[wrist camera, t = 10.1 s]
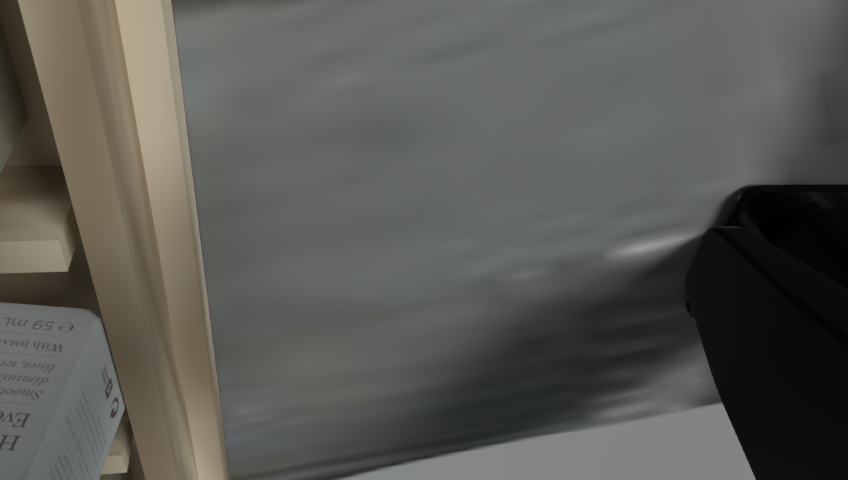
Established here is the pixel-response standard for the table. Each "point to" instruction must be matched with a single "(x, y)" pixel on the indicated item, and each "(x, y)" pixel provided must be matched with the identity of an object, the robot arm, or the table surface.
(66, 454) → the skincare box
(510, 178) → the table surface
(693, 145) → the table surface
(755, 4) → the table surface
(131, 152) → the rail
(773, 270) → the robot arm
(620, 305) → the table surface
